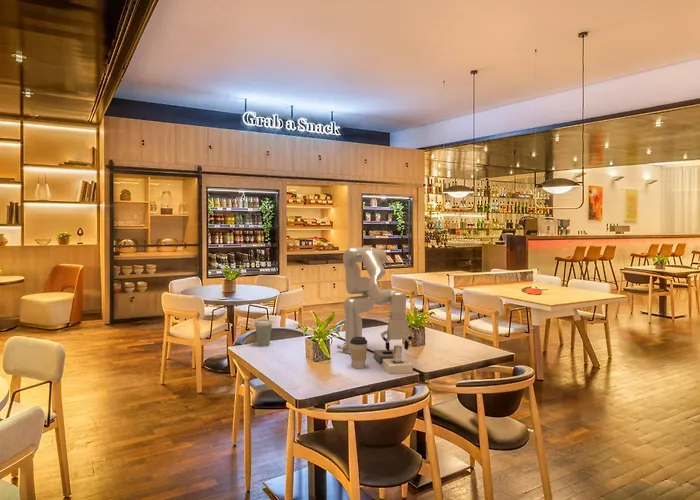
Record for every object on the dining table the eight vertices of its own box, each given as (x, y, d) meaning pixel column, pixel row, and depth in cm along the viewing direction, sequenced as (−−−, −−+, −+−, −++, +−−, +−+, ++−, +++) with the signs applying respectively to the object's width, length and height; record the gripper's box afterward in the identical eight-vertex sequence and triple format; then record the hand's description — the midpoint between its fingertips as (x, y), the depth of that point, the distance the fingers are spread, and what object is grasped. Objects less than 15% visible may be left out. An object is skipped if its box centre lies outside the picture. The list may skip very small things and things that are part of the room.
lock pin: (394, 371, 244) (395, 347, 243) (392, 368, 248) (392, 345, 247) (402, 370, 245) (402, 347, 244) (399, 368, 249) (400, 345, 248)
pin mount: (379, 364, 256) (379, 356, 256) (373, 357, 267) (373, 350, 267) (401, 362, 258) (401, 355, 258) (394, 356, 270) (394, 349, 270)
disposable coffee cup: (276, 344, 292) (276, 319, 292) (263, 348, 283) (263, 323, 282) (263, 342, 298) (262, 317, 297) (250, 345, 289) (250, 320, 288)
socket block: (389, 374, 239) (389, 366, 239) (382, 366, 251) (382, 359, 251) (412, 372, 242) (412, 364, 242) (404, 365, 254) (404, 357, 253)
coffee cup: (354, 370, 245) (355, 340, 244) (346, 365, 253) (346, 336, 252) (370, 367, 249) (370, 338, 248) (361, 363, 257) (362, 334, 256)
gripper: (383, 318, 239) (382, 352, 241) (416, 317, 243) (415, 351, 245) (379, 315, 247) (378, 348, 248) (411, 314, 250) (410, 346, 252)
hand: (396, 349), depth 246 cm, fingers open, 9 cm apart
